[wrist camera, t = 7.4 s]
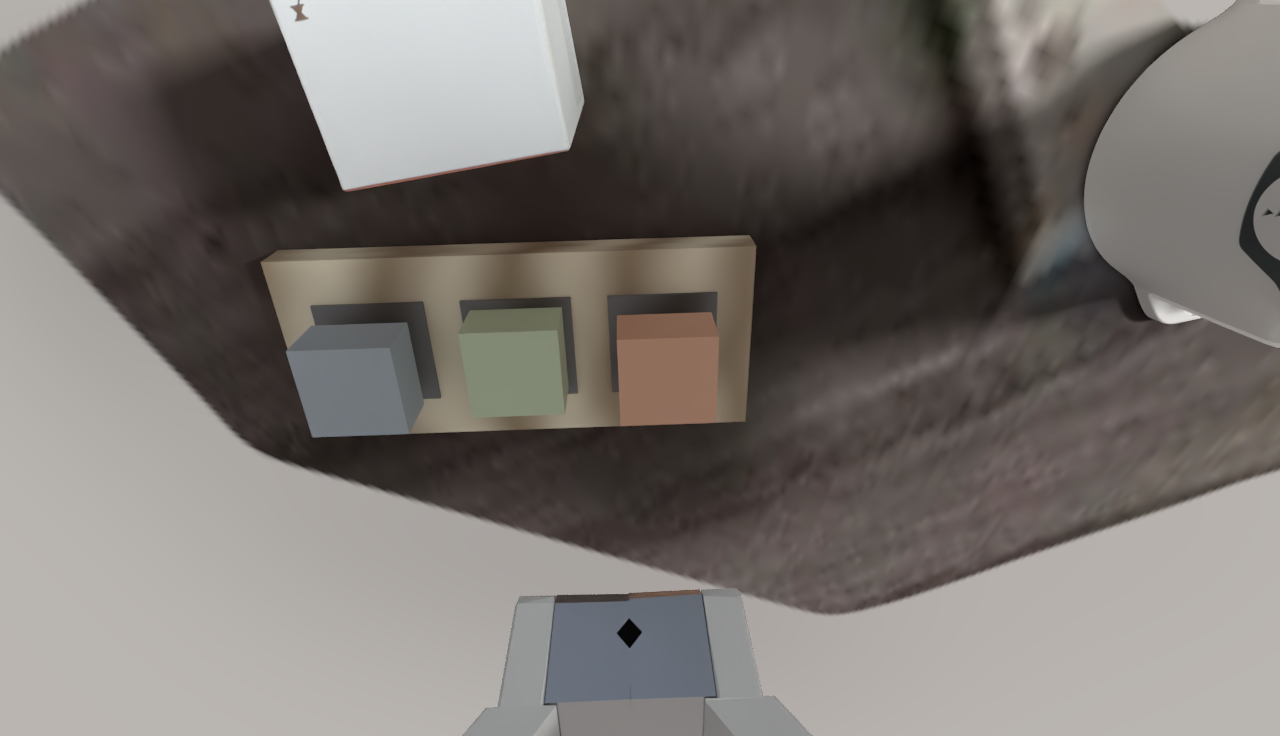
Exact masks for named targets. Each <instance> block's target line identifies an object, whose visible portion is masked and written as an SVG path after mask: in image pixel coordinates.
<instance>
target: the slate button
mask: <svg viewBox="0 0 1280 736" xmlns="http://www.w3.org/2000/svg"><path fill="white" fill-rule="evenodd" d="M286 354H287V358H288V361H289V364H290V367H291V370H292V374H293V377H294V380H295V383H296V386H297V390H298V393H299V396H300V399H301V402H302V406H303V409H304V412H305V415H306V418H307V422H308V425H309V428H310V431H311V434H312V437H339V436H366V435H394V434H409V433H410V431H411V429H412V427H413V425H414V423H415V421H416V419H417V417H418V415H419V413H420V411H421V409H422V407H423V405H424V401H423V396H422V391H421V386H420V382H419V377H418V372H417V367H416V362H415V358H414V353H413V348H412V343H411V339H410V334H409V329H408V324H407V322H405V323H375V324H346V325H316V326H310V327H309V328H308V329H307V330H306V331H305V332H304V333H303V334H302V335H301V336H300V337H299V338H298V339H297V340H296V341H295V342H294V343H293V345H292V346H291V347H290V348H289V349H288V350H287V351H286Z"/></svg>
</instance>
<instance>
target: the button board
mask: <svg viewBox="0 0 1280 736" xmlns="http://www.w3.org/2000/svg"><path fill="white" fill-rule="evenodd" d="M755 260H756V245H755V243H754V241H753V240H752V238H751V237H750V235H738V236H707V237H676V238H645V239H613V240H582V241H551V242H520V243H489V244H457V245H426V246H395V247H364V248H333V249H301V250H278V251H276V252H275V253H273V254H272V255H270V256H269V257H268V258H266V259H265V260H263V261H262V262H261V265H262V268H263V272H264V275H265V278H266V281H267V285H268V288H269V291H270V294H271V297H272V301H273V304H274V307H275V310H276V314H277V317H278V320H279V323H280V326H281V330H282V333H283V336H284V339H285V343H286V346H287V349H289V348H290V347H291V346H292V345H293V343H294V342H295V341H296V340H297V339H298V338H299V337H300V336H301V335H302V334H303V333H304V332H305V331H306V330H307V329H308V328H309V327H310V326H316V325H346V324H375V323H405V322H407V324H408V329H409V334H410V339H411V343H412V348H413V353H414V358H415V362H416V367H417V372H418V377H419V382H420V386H421V391H422V396H423V401H424V405H423V407H422V409H421V411H420V413H419V415H418V417H417V419H416V421H415V423H414V425H413V427H412V429H411V431H410V433H409V434H416V433H444V432H471V431H498V430H526V429H553V428H581V427H608V426H621V424H620V402H619V379H618V357H617V315H641V314H671V313H700V312H712V315H713V319H714V322H715V325H716V328H717V331H718V334H719V355H718V382H717V409H716V423H718V422H745V421H746V405H747V389H748V373H749V357H750V341H751V325H752V309H753V293H754V276H755ZM552 307H562V316H563V327H564V339H565V351H566V362H567V374H568V385H569V388H568V395H567V403H566V411H565V414H563V415H535V416H508V417H480V418H472V414H471V408H470V402H469V396H468V390H467V385H466V379H465V373H464V367H463V361H462V355H461V350H460V344H459V338H458V332H459V330H460V328H461V326H462V324H463V323H464V321H465V319H466V317H467V315H468V313H469V311H470V310H493V309H523V308H552Z"/></svg>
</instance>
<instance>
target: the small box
mask: <svg viewBox="0 0 1280 736" xmlns="http://www.w3.org/2000/svg"><path fill="white" fill-rule="evenodd" d="M269 2H270V5H271V7H272V10H273V12H274V14H275V17H276V19H277V22H278V24H279V27H280V29H281V32H282V34H283V37H284V39H285V42H286V45H287V47H288V50H289V53H290V55H291V58H292V60H293V63H294V65H295V68H296V71H297V73H298V76H299V78H300V81H301V84H302V86H303V89H304V91H305V94H306V97H307V99H308V102H309V104H310V107H311V109H312V112H313V114H314V117H315V120H316V122H317V124H318V127H319V130H320V132H321V135H322V137H323V140H324V143H325V145H326V148H327V150H328V153H329V156H330V158H331V161H332V163H333V166H334V168H335V171H336V173H337V176H338V179H339V181H340V184H341V187H342V189H343V190H344V191H355V190H360V189H366V188H371V187H377V186H383V185H388V184H394V183H399V182H405V181H410V180H416V179H421V178H427V177H432V176H437V175H443V174H448V173H453V172H458V171H464V170H470V169H475V168H480V167H486V166H491V165H496V164H501V163H507V162H512V161H517V160H523V159H529V158H534V157H539V156H544V155H550V154H555V153H560V152H565V151H568V150H569V149H570V147H571V144H572V140H573V137H574V134H575V131H576V127H577V124H578V121H579V118H580V115H581V112H582V108H583V105H584V96H583V91H582V86H581V81H580V76H579V71H578V65H577V60H576V55H575V50H574V45H573V40H572V34H571V29H570V24H569V19H568V14H567V8H566V3H565V0H269Z"/></svg>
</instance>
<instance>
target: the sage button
mask: <svg viewBox="0 0 1280 736" xmlns="http://www.w3.org/2000/svg"><path fill="white" fill-rule="evenodd" d="M458 338H459V344H460V350H461V355H462V361H463V367H464V373H465V379H466V385H467V390H468V396H469V402H470V408H471V414H472V418H480V417H508V416H535V415H563V414H565V411H566V403H567V395H568V388H569V385H568V374H567V362H566V351H565V339H564V327H563V316H562V307H552V308H523V309H493V310H470V311H469V313H468V315H467V317H466V319H465V321H464V323H463V324H462V326H461V328H460V330H459V332H458Z"/></svg>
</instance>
